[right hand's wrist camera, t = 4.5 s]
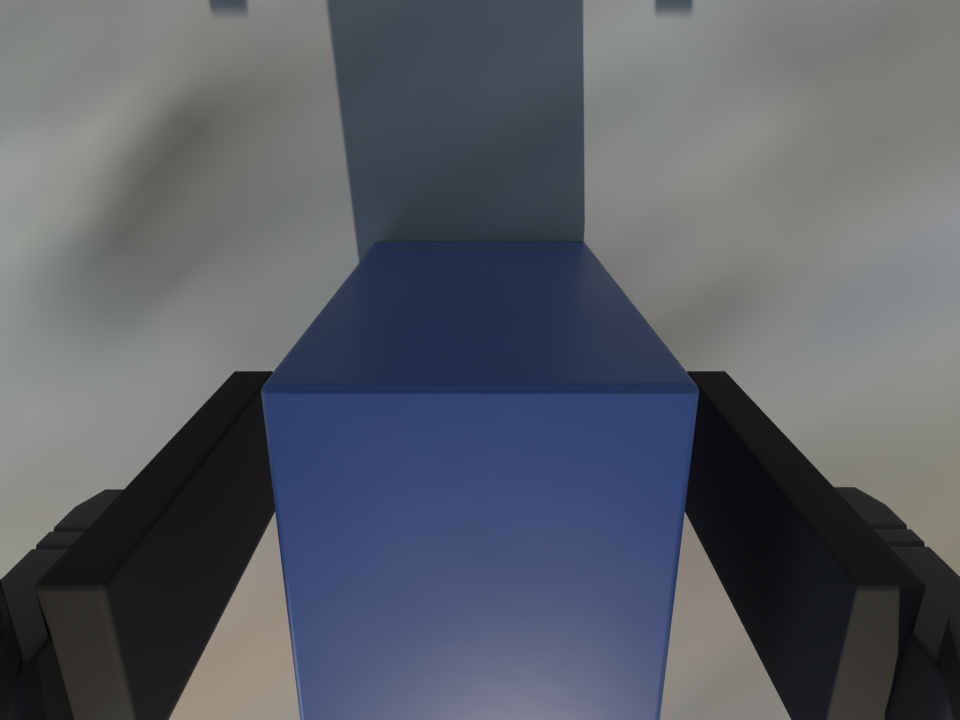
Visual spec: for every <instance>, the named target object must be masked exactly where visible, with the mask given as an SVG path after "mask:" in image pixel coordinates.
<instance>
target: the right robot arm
mask: <svg viewBox="0 0 960 720" xmlns="http://www.w3.org/2000/svg"><path fill="white" fill-rule="evenodd" d="M272 373H273V371H235V372H234V373H233V374H232V375H231V376H230V377H229V378H228V379H227V380H226V382H225V383H224V384H223V385H222V386H221V387H220V388H219V389H218V390H217V391H216V392H215V393H214V394H213V395H212V396H211V398H210V399H209V400H208V401H207V402H206V403H205V404H204V405H203V406H202V407H201V408H200V409H199V410H198V411H197V412H196V413H195V415H194V416H193V417H192V418H191V419H190V420H189V421H188V422H187V423H186V424H185V425H184V426H183V427H182V428H181V429H180V431H179V432H178V433H177V434H176V435H175V436H174V437H173V438H172V439H171V440H170V441H169V442H168V443H167V444H166V445H165V447H164V448H163V449H162V450H161V451H160V452H159V453H158V454H157V455H156V456H155V457H154V458H153V459H152V460H151V461H150V463H149V464H148V465H147V466H146V467H145V468H144V469H143V470H142V471H141V472H140V473H139V474H138V475H137V476H136V477H135V479H134V480H133V481H132V482H131V483H130V484H129V485H128V486H127V487H126V488H125V489H124V490H104V491H102V492H101V493H99V494H97V495H95V496H94V497H92V498H90V499H88V500H87V501H85V502H83V503H81V504H80V505H78V506H76V507H75V508H74V509H73V510H72V511H70V512H69V513H68V514H67V515H66V516H65V517H64V518H63V519H62V520H61V521H60V522H59V523H58V524H57V525H56V526H55V527H54V531H53V532H49V533H48V534H47V535H46V536H45V537H44V538H43V539H42V540H41V541H40V542H39V543H38V544H37V545H36V549H32V550H31V551H30V552H29V553H28V554H27V555H26V556H25V557H24V558H23V559H21V560H20V561H19V562H18V563H17V564H16V565H15V566H14V567H13V568H12V569H11V570H10V571H9V572H8V573H7V574H6V575H5V576H4V577H3V578H2V579H1V580H0V720H169V718H170V716H171V714H172V712H173V710H174V708H175V706H176V704H177V702H178V700H179V698H180V696H181V694H182V692H183V690H184V688H185V686H186V685H187V683H188V681H189V679H190V677H191V675H192V673H193V671H194V669H195V667H196V665H197V663H198V661H199V659H200V657H201V655H202V653H203V651H204V649H205V647H206V645H207V643H208V641H209V640H210V638H211V636H212V634H213V632H214V630H215V628H216V626H217V624H218V622H219V620H220V618H221V616H222V614H223V612H224V610H225V608H226V606H227V604H228V602H229V600H230V598H231V596H232V595H233V593H234V591H235V589H236V587H237V585H238V583H239V581H240V579H241V577H242V575H243V573H244V571H245V569H246V567H247V565H248V563H249V561H250V559H251V557H252V555H253V553H254V551H255V550H256V548H257V546H258V544H259V542H260V540H261V538H262V536H263V534H264V532H265V530H266V528H267V526H268V524H269V522H270V520H271V518H272V516H273V514H274V512H275V503H274V495H273V487H272V478H271V470H270V462H269V453H268V445H267V437H266V428H265V420H264V412H263V403H262V395H261V390H262V387H263V385H264V384H265V382H266V381H267V380H268V379H269V377H270V376H271V375H272ZM687 373H688V375H689V376H690V377H691V378H692V380H693V381H694V382H695V383H696V385H697V387H698V390H699V396H698V404H697V413H696V421H695V429H694V438H693V446H692V454H691V463H690V471H689V479H688V488H687V496H686V504H685V512H686V514H687V516H688V518H689V520H690V522H691V524H692V526H693V528H694V530H695V532H696V534H697V536H698V538H699V540H700V542H701V544H702V546H703V548H704V550H705V551H706V553H707V555H708V557H709V559H710V561H711V563H712V565H713V567H714V569H715V571H716V573H717V575H718V577H719V579H720V581H721V583H722V585H723V587H724V589H725V591H726V593H727V595H728V596H729V598H730V600H731V602H732V604H733V606H734V608H735V610H736V612H737V614H738V616H739V618H740V620H741V622H742V624H743V626H744V628H745V630H746V632H747V634H748V636H749V638H750V640H751V641H752V643H753V645H754V647H755V649H756V651H757V653H758V655H759V657H760V659H761V661H762V663H763V665H764V667H765V669H766V671H767V673H768V675H769V677H770V679H771V681H772V683H773V685H774V686H775V688H776V690H777V692H778V694H779V696H780V698H781V700H782V702H783V704H784V706H785V708H786V710H787V712H788V714H789V716H790V718H791V720H960V577H959V576H958V575H957V574H956V573H955V572H954V571H953V570H952V569H951V568H950V567H949V566H948V565H947V564H946V563H945V562H944V561H943V560H942V559H941V558H940V557H939V556H938V555H937V554H936V553H935V552H934V551H933V550H932V549H931V548H930V547H925V545H924V542H923V541H922V540H921V539H920V538H919V537H918V536H917V535H916V534H915V533H914V532H913V531H912V530H911V529H907V525H906V524H905V523H904V522H903V521H902V520H901V519H900V518H899V517H898V516H897V515H896V514H895V513H894V512H893V511H891V510H890V509H889V508H888V507H887V506H886V505H885V504H883V503H882V502H880V501H878V500H876V499H874V498H873V497H871V496H869V495H867V494H866V493H864V492H862V491H860V490H859V489H857V488H855V487H833V486H832V485H831V484H830V483H829V482H828V481H827V480H826V479H825V477H824V476H823V475H822V474H821V473H820V472H819V471H818V470H817V469H816V468H815V467H814V466H813V465H812V464H811V463H810V461H809V460H808V459H807V458H806V457H805V456H804V455H803V454H802V453H801V452H800V451H799V450H798V449H797V448H796V447H795V445H794V444H793V443H792V442H791V441H790V440H789V439H788V438H787V437H786V436H785V435H784V434H783V433H782V432H781V431H780V429H779V428H778V427H777V426H776V425H775V424H774V423H773V422H772V421H771V420H770V419H769V418H768V417H767V416H766V415H765V413H764V412H763V411H762V410H761V409H760V408H759V407H758V406H757V405H756V404H755V403H754V402H753V401H752V400H751V399H750V397H749V396H748V395H747V394H746V393H745V392H744V391H743V390H742V389H741V388H740V387H739V386H738V385H737V384H736V383H735V382H734V380H733V379H732V378H731V377H730V376H729V375H728V374H727V373H726V372H725V371H687Z"/></svg>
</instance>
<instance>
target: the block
mask: <svg viewBox="0 0 960 720" xmlns="http://www.w3.org/2000/svg"><path fill="white" fill-rule="evenodd" d="M261 395H262V403H263V412H264V420H265V428H266V437H267V445H268V453H269V462H270V470H271V478H272V487H273V495H274V503H275V512H276V520H277V528H278V537H279V545H280V553H281V562H282V570H283V578H284V587H285V595H286V603H287V612H288V620H289V628H290V637H291V645H292V653H293V662H294V670H295V678H296V687H297V695H298V703H299V712H300V720H660V712H661V704H662V696H663V687H664V679H665V671H666V662H667V654H668V646H669V637H670V629H671V621H672V612H673V604H674V596H675V588H676V579H677V571H678V563H679V554H680V546H681V538H682V529H683V521H684V513H685V504H686V496H687V488H688V479H689V471H690V463H691V454H692V446H693V438H694V429H695V421H696V413H697V404H698V396H699V390H698V387H697V385H696V383H695V382H694V381H693V380H692V378H691V377H690V376H689V375H688V373H687V372H686V371H685V369H684V368H683V367H682V366H681V364H680V363H679V362H678V361H677V359H676V358H675V357H674V356H673V354H672V353H671V352H670V350H669V349H668V348H667V347H666V345H665V344H664V343H663V342H662V340H661V339H660V338H659V337H658V335H657V334H656V333H655V331H654V330H653V329H652V328H651V326H650V325H649V324H648V323H647V321H646V320H645V319H644V317H643V316H642V315H641V314H640V312H639V311H638V310H637V309H636V307H635V306H634V305H633V304H632V302H631V301H630V300H629V298H628V297H627V296H626V295H625V293H624V292H623V291H622V290H621V288H620V287H619V286H618V285H617V283H616V282H615V281H614V279H613V278H612V277H611V276H610V274H609V273H608V272H607V271H606V269H605V268H604V267H603V265H602V264H601V263H600V262H599V260H598V259H597V258H596V257H595V255H594V254H593V253H592V252H591V250H590V249H589V248H588V246H587V245H586V244H585V243H584V242H376V243H375V244H374V245H373V247H372V248H371V249H370V250H369V252H368V253H367V254H366V255H365V257H364V258H363V259H362V261H361V262H360V263H359V264H358V266H357V267H356V268H355V269H354V271H353V272H352V273H351V274H350V276H349V277H348V278H347V280H346V281H345V282H344V283H343V285H342V286H341V287H340V288H339V290H338V291H337V292H336V293H335V295H334V296H333V297H332V299H331V300H330V301H329V302H328V304H327V305H326V306H325V307H324V309H323V310H322V311H321V313H320V314H319V315H318V316H317V318H316V319H315V320H314V321H313V323H312V324H311V325H310V326H309V328H308V329H307V330H306V332H305V333H304V334H303V335H302V337H301V338H300V339H299V340H298V342H297V343H296V344H295V346H294V347H293V348H292V349H291V351H290V352H289V353H288V354H287V356H286V357H285V358H284V359H283V361H282V362H281V363H280V365H279V366H278V367H277V368H276V370H275V371H274V372H273V373H272V375H271V376H270V377H269V379H268V380H267V381H266V382H265V384H264V385H263V387H262V390H261Z"/></svg>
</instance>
